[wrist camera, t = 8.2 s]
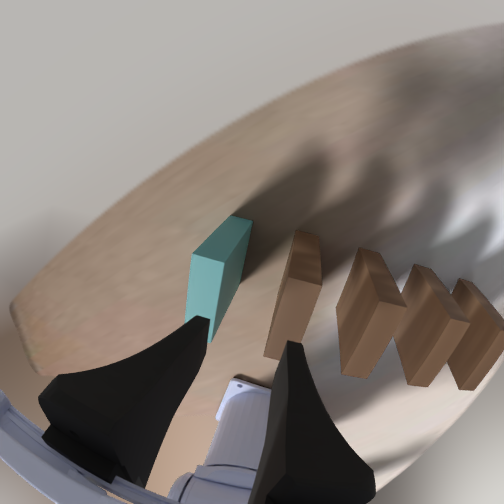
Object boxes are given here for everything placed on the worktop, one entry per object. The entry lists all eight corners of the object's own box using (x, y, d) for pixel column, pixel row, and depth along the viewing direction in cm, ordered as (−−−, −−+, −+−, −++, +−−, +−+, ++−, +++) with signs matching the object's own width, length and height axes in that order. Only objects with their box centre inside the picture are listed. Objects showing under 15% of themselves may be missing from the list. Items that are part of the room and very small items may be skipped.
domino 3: (379, 253, 19) (407, 307, 12) (355, 312, 21) (366, 378, 14) (358, 247, 19) (379, 300, 12) (335, 307, 21) (341, 374, 14)
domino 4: (431, 269, 18) (470, 323, 12) (404, 324, 20) (427, 387, 14) (414, 263, 18) (450, 318, 12) (388, 320, 20) (407, 384, 14)
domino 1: (253, 221, 20) (224, 262, 13) (239, 284, 22) (210, 343, 15) (230, 215, 20) (191, 253, 13) (219, 278, 22) (183, 334, 15)
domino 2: (318, 236, 19) (322, 286, 13) (299, 298, 21) (291, 363, 15) (295, 229, 19) (288, 276, 13) (278, 292, 21) (263, 356, 15)
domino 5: (472, 282, 18) (514, 333, 11) (445, 333, 20) (473, 390, 13) (459, 278, 18) (500, 330, 12) (432, 330, 20) (458, 389, 14)
